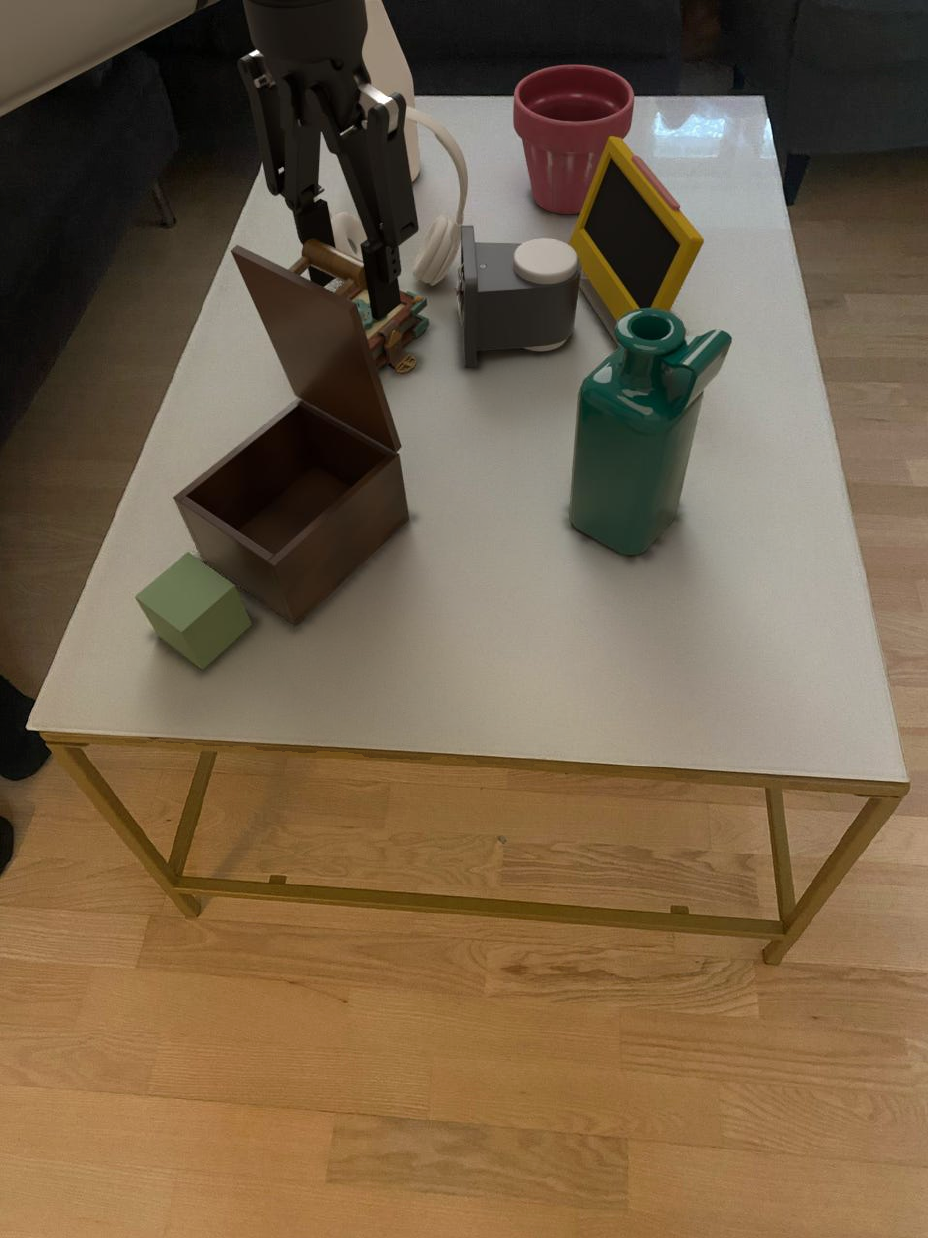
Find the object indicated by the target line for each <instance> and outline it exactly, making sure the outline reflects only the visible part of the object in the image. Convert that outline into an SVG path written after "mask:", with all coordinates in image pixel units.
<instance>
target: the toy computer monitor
mask: <svg viewBox="0 0 928 1238" xmlns="http://www.w3.org/2000/svg"><path fill="white" fill-rule="evenodd" d="M571 233H572V234H571V235H570V239H569V241H568V243H567V244H568V245H570V246H571V247H572V248H573V249H574V250H575V252H576V253H577V256H578V258H579V260H580V263H581V271H582V272H583V273H584V275H585V276H586V278H584V279H580V284H579V289H580V290H581V292H582V293H583V295H584V296H585V298H586V299H587V301H588V302H589V304H590V305H591V307H592V309H593V310H594V312H595V313H596V314H597V316H598V317H599V320H600V321H601V322H602V323H603V326H604V327H605V328H606V330H607V331H608V333H609V335H610V337H611V338H612V339H613V341H614V343H616V345H617V348H618V347H619V346H622V345H621V344H620V343H619V342H618V341H617V339H616V335H615V332H614V329H615V326H616V323H617V321H618V320H619V319H620V318H621V317H622V316H623V315H624V314H625V313H628V312H630V311H633V310H635V309H640V308H649V307H650V308H657V309H663V310H666V311H668V312H670V313H673V311H672V307H673V305H674V304H675V301H676V299H677V297H678V295H679V293H680V290H681V289H682V287H683V285H684V283H685V281H686V279H687V277H688V275H689V273H690V271H691V269H692V267H693V265H694V263H695V261H696V259H697V257H698V255H699V253H700V251H701V250H702V246H703V245H704V242H705V239H704V237H703V236H702V235H701V234H700V233H699V231H698V230H697V229H696V228H695V226H694V225H693V224H692V223H691V222H690V220H689V219H688V218H687V216H686V215H685V214H684V213H683V212H682V211H681V204H680V203H679V202H678V201H677V200H676V198H674V196H673V195H672V194H671V192H670V191H669V190H668V189H667V188H666V187H665V185H664V184H663V183H662V181H660V179H659V177H657V176H656V174H655V173H654V172H653V171H652V170H651V168H650V167H649V166H648V165H647V163H646V162H645V161H644V160H643V158H641V156H638V155H635V154H634V152H633V151H632V149H630V147H629V146H628V145H627V143H626V142H625V141H624V139H623V140H622V139H621V138H619V137H614V136H610V137H609V138H608V141H607V143H606V146H605V149H604V151H603V154H602V156H601V159H600V162H599V164H598V167H597V170H596V172H595V175H594V178H593V180H592V183H591V186H590V188H589V191H588V193H587V196H586V199H585V201H584V204H583V207H582V209H581V212H580V213H579V215H578V217H577V220H576V223H575V225H574V228H573V231H572V232H571Z"/></svg>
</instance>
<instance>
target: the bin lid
mask: <svg viewBox="0 0 928 1238" xmlns="http://www.w3.org/2000/svg"><path fill="white" fill-rule="evenodd" d="M230 253H231V255H232V257H233V260H234V262H235V264H236V266H237V268H238V271H239V273H240V275H241V278H242V280H243V282H244V285H245V287H246V288H247V291H248V293H249V295H250V298H251V300H252V302H253V305H254V307H255V309H256V312H257V313H258V316H259V318H260V320H261V322H262V325H263V327H264V329H265V331H266V333H267V336H268V338H269V340H270V342H271V344H272V347H273V349H274V351H275V354H276V355H277V358H278V360H279V362H280V365H281V367H282V369H283V372H284V373H285V376H286V379H287V380H288V383H289V385H290V387H291V390H292V391H293V394H294V396H295V397H296V398H298V397H299V398H301V399H302V400H304V401H306V402H308V403H309V404H311V405H313V406H315V407H316V408H318V409H320V410H322V411H324V412H325V413H327V414H329V415H331V416H332V417H334V418H336V419H338V420H339V421H341V422H343V423H345V424H346V425H348V426H350V427H352V428H354V429H355V430H357V431H359V432H361V433H362V434H364V435H366V436H368V437H369V438H371V439H373V440H375V441H376V442H378V443H380V444H382V445H384V446H385V447H387V448H389V449H391V450H392V451H394V452H396V453H399V451H400V450H401V449H402V447H403V446H402V442H401V440H400V437H399V434H398V430H397V427H396V423H395V421H394V418H393V415H392V411H391V408H390V405H389V401H388V398H387V395H386V392H385V389H384V386H383V382H382V380H381V377H380V373H379V370H377V367H376V364H375V361H374V358H373V354H372V351H371V348H370V345H369V342H368V339H367V336H366V332H365V329H364V326H363V323H362V320H361V317H360V314H359V310H358V307H357V304H356V303H355V302H353V301H351V300H349V299H347V297H349V296H350V295H351V294H352V293H353V292H354V291H355V290H356V289H357V288H358V289H360V290H366V289H367V283H366V277H365V270H364V264H363V261H362V260H360V259H358V258H355V257H353V256H351V255H349V254H347V253H345V252H342V251H340V250H338V249H336V248H334V247H332V246H330V245H327V244H325V243H323V242H321V241H319V240H317V239H314V238H311V239H309V240H307V241H306V242H305V244H304V246H303V245H302V248H301V257H299V259H298V260H297V261H295V262H294V263H293V264H292V265H291V266H290V267H289V268H286V267H283V266H281V265H280V264H277V263H276V262H274V261H271V260H270V259H267V258H265V257H263V256H261V255H260V254H257V253H255V252H253V251H251V250H249V249H247V248H245V247H244V246H241V245H239V244H236V245H235V246H233V248H232V249H230ZM310 266H312V267H314V268H316V269H319V270H321V271H323V272H325V273H327V274H329V275H331V276H333V277H335V278H336V280H339V281H341V282H343V283H342V284H341V285H340V286H339V287H338V288H337V289H336V290H335V291H332V290H331V289H328V288H326V287H322V286H320V285H318V284H316V283H314V282H312V281H311V280H310V279H308V278H306V277H304V276H302V275H303V274H304V273H305V272H306V271H308V268H309V267H310Z"/></svg>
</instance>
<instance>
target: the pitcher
mask: <svg viewBox="0 0 928 1238" xmlns="http://www.w3.org/2000/svg"><path fill="white" fill-rule="evenodd" d="M614 332H615V335H616V339H617V341H618V342H619V343H620V344H621V345H622V346H619V347H618V346H617V348H615V350H613V351H612V352H611V353H610V355H608V356H607V357H606V358H605V359H604V360H603V361H601V362H600V364H598V365H597V367H596V368H595V369H593V370H592V371H591V372H590V373H589V374H588V375H587V376H586V377H584V378H583V381H582V382H581V384H580V387H579V390H578V392H577V398H576V399H577V401H576V414H575V429H574V439H573V440H574V441H573V454H572V468H571V483H570V493H569V494H570V495H569V508H568V509H569V510H568V516H569V521H570V523H571V524H572V526H573V527H574V528H575V529H576V530H578V531H580V532H581V533H583V534H585V535H587V536H588V537H590V538H593V539H594V540H595V541H597V542H599V543H601V544H602V545H604V546H606V547H608V548H610V549H611V550H613V551H615V552H616V553H619V554H620V555H626V556H634V555H640V554H642V553H644V552H646V551H647V550H648V549H649V548H650V547H651V546H652V544H653V543H654V542H655V541H656V540H657V539H658V538H659V537H660V535H661V534H663V532H664V531H665V530H666V529H667V527H669V526H670V524H671V523H672V522H673V521H674V520H675V519H676V517H677V514H678V510H679V505H680V500H681V497H682V492H683V487H684V484H685V478H686V475H687V474H686V473H687V469H688V465H689V460H690V456H691V451H692V447H693V443H694V439H695V434H696V429H697V425H698V421H699V416H700V412H701V407H702V403H703V399H704V394H705V389H706V388H707V387H708V386H709V385H710V384H711V383H712V382H713V381H714V380H715V378H716V377H717V376H718V374H719V373H720V371H721V369H722V368H723V365H724V362H725V360H726V357H727V355H728V352H729V350H730V347H731V345H732V341H733V337H732V336H731V335H730V333H728V332H727V331H725V330H722V329H716V328H715V329H712V330H709V331H708V332H706V333H704V334H702V335H701V334H700V335H687V329H686V326H685V324H684V321H682V319H680V318H679V317H678V316H677V315H676V314H675V313H673V312H672V313H670V312H668V311H666V310H663V309H657V308H650V307H649V308H640V309H635V310H633V311H630V312H628V313H625V314H624V315H623V316H622V317H621V318H620V319H619V320H618V321H617V323H616V326H615V329H614Z"/></svg>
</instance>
